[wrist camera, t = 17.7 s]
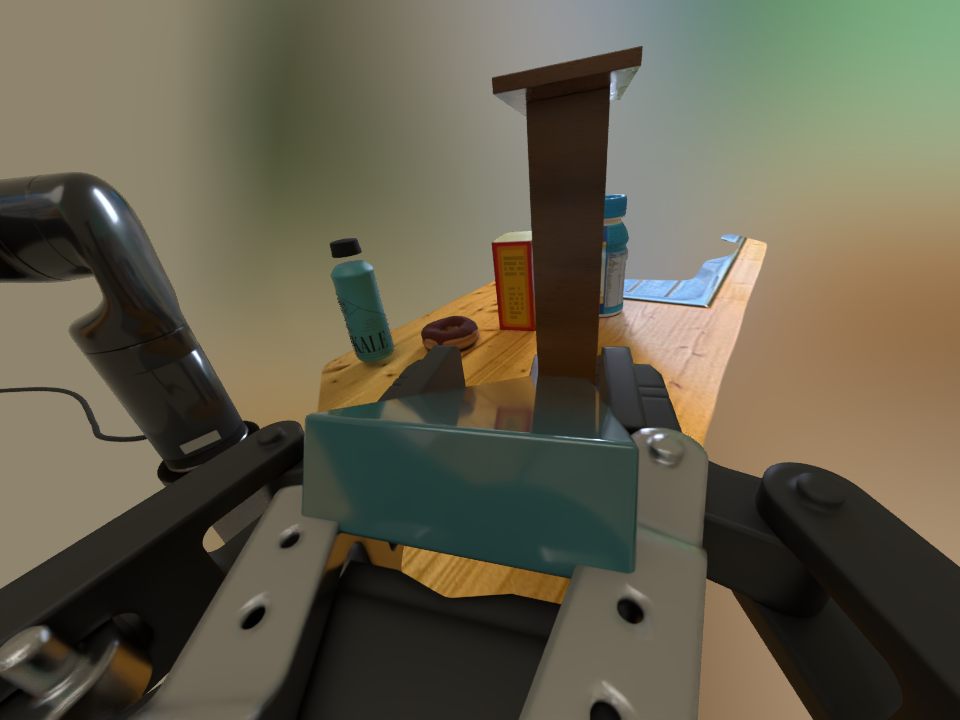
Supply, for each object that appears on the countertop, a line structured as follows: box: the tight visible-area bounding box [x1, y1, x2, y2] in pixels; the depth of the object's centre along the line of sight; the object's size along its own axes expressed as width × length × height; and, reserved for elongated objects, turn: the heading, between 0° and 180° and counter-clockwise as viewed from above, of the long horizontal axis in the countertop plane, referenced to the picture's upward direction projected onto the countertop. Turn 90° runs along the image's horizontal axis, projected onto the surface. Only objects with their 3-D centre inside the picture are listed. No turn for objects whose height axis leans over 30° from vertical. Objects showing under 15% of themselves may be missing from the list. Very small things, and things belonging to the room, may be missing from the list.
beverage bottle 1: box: [330, 238, 394, 362], centre depth 54 cm, size 6×7×20 cm
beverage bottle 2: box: [599, 195, 629, 317], centre depth 62 cm, size 8×8×20 cm
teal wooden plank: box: [301, 375, 639, 579], centre depth 16 cm, size 24×4×2 cm, turn 165°
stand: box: [492, 46, 642, 392], centre depth 38 cm, size 16×10×32 cm, turn 165°
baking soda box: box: [492, 231, 536, 331], centre depth 63 cm, size 10×6×16 cm
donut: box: [421, 316, 479, 350], centre depth 61 cm, size 10×10×4 cm
